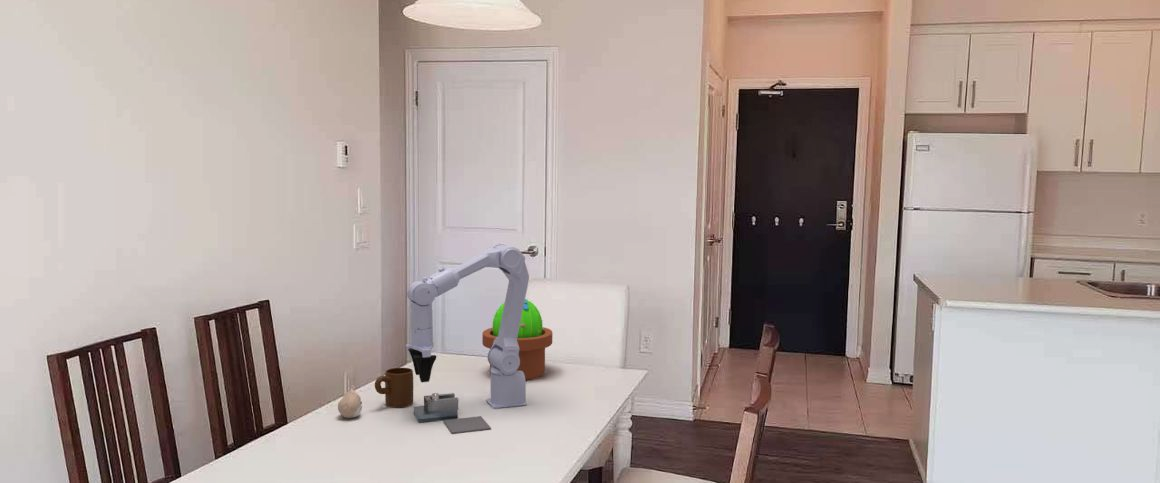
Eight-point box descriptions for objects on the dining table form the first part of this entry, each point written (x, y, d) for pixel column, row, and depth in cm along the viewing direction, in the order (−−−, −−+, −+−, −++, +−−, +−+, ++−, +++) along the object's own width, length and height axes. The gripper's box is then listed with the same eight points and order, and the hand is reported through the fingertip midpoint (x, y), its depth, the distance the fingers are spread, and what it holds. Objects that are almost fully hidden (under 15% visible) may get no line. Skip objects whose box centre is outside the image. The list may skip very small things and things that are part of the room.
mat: (481, 417, 208) (481, 416, 208) (491, 429, 199) (491, 427, 198) (443, 421, 204) (443, 420, 204) (451, 433, 195) (451, 432, 195)
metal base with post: (450, 410, 214) (450, 388, 213) (457, 418, 206) (457, 396, 206) (413, 413, 210) (413, 391, 210) (419, 423, 203) (418, 400, 202)
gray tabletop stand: (453, 403, 213) (453, 393, 212) (458, 409, 208) (458, 398, 207) (423, 407, 210) (423, 395, 209) (427, 412, 205) (427, 401, 204)
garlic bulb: (368, 415, 208) (367, 386, 208) (350, 422, 203) (350, 392, 202) (349, 411, 211) (349, 382, 211) (331, 418, 206) (331, 388, 205)
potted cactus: (492, 364, 264) (492, 289, 262) (557, 367, 261) (557, 292, 259) (474, 381, 243) (474, 300, 240) (545, 384, 240) (545, 303, 237)
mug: (385, 413, 210) (384, 379, 209) (366, 408, 215) (366, 374, 214) (419, 403, 220) (419, 370, 219) (400, 398, 224) (400, 365, 223)
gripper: (401, 323, 213) (402, 372, 214) (410, 334, 200) (411, 386, 201) (428, 321, 216) (428, 370, 217) (438, 331, 202) (439, 384, 203)
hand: (422, 378), depth 209 cm, fingers open, 7 cm apart
